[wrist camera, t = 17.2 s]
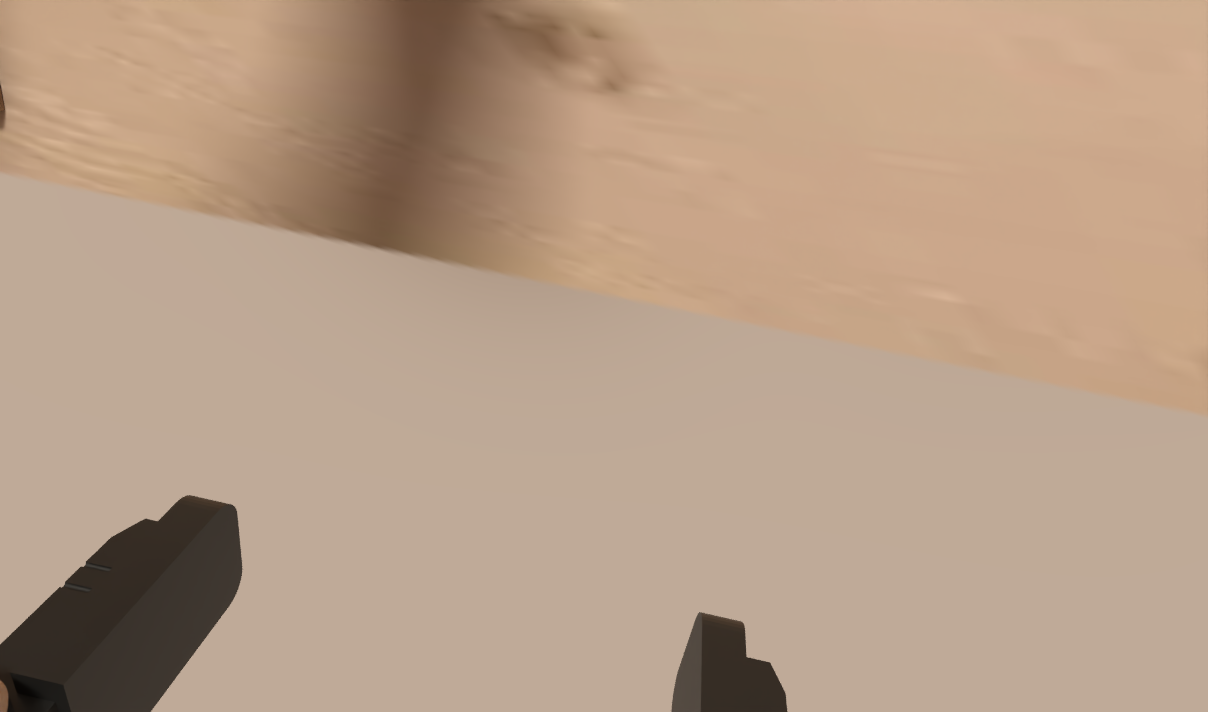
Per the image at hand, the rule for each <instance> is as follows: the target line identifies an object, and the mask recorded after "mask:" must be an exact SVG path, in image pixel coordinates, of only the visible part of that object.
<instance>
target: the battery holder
mask: <svg viewBox="0 0 1208 712" xmlns="http://www.w3.org/2000/svg"><path fill="white" fill-rule="evenodd" d="M2 110H5V109H4V103H3V98H2V93H1V87H0V111H2Z"/></svg>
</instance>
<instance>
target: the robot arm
mask: <svg viewBox="0 0 1208 712" xmlns="http://www.w3.org/2000/svg"><path fill="white" fill-rule="evenodd" d="M241 576H242V560H241V549H240V538H239V527H238V518H237V511H236V508H235V507H234V506H233V505H231V504H226V503H222V502H217V501H213V500H208V499H204V498H199V497H195V496H190V495H189V496H185V497H183V498H181V499H180V500H179V501H178V502H176V503H175V504H174V505H173V506H172V508H171V509H170V510H169V511H168V512H167V513H166V514H165V515H164V516H163V517H162V518H161V519H160V520H159V521H153V520H149V519H144V520H142V521H140V522H138V523H137V524H135V525H133V526H131V527H129V528H128V529H126V530H124V531H122V532H120V533H118V534H116V535H115V536H113V537H111V538H110V539H109V540H108V541H107V542H106V543H105V544H104V545H103V546H102V547H101V548H100V549H99V550H98V551H97V552H96V553H95V554H94V555H92V556H91V557H90V558H89V559H88V560H87V561H86V565H85V566H84V567H80V568H79V569H78V570H77V571H76V572H75V573H74V574H73V575H72V576H71V577H70V578H69V579H68V580H67V581H66V582H65V585H64V587H62V588H61V587H59V588H58V589H57V590H56V591H55V592H54V593H53V594H52V595H51V596H50V597H49V598H48V599H47V600H46V601H45V602H44V603H43V604H42V605H41V606H40V607H39V608H38V609H37V610H36V611H35V612H34V613H33V614H31V615H30V617H28V619H26V620H25V621H24V622H23V623H22V624H21V625H20V626H19V627H18V628H17V629H16V630H15V631H14V632H13V633H12V634H11V635H10V636H9V637H8V638H7V639H6V640H5V641H4V642H2V643H1V644H0V712H151V710H152V709H153V708H154V706H155V705H156V704H157V702H158V701H159V700H160V698H161V697H162V696H163V694H164V693H165V692H166V690H167V689H168V688H169V686H170V685H171V684H172V682H173V681H174V680H175V678H176V677H177V675H178V674H179V673H180V671H181V670H182V669H183V667H184V666H185V665H186V663H187V662H188V661H189V659H190V658H191V657H192V655H193V654H194V653H195V651H196V650H197V649H198V647H199V646H200V645H201V643H202V642H203V641H204V639H205V638H206V636H207V635H208V634H209V632H210V631H211V630H212V628H213V627H214V625H215V624H216V623H217V622H218V620H219V619H220V618H221V616H222V615H223V614H224V612H225V611H226V610H227V608H228V607H229V605H230V604H231V602H232V601H233V599H234V597H235V594H236V592H237V590H238V587H239V584H240V580H241ZM672 712H787V705H786V695H785V692H784V690H783V688H782V685H781V683H780V682H779V680H778V677H777V676H776V674H775V671H774V670H773V668H772V666H771V663H769V662H765V661H761V660H756V659H752V658H747V657H746V640H745V628H744V624H743V623H742V622H741V621H736V620H732V619H727V618H723V617H718V616H714V615H710V614H705V613H700V612H699V613H698V615H697V617H696V620H695V623H694V626H693V629H692V632H691V635H690V637H689V640H688V643H687V646H686V649H685V652H684V656H683V658H682V661H681V664H680V667H679V670H678V674H677V678H676V682H675V688H674V694H673V702H672Z"/></svg>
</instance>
